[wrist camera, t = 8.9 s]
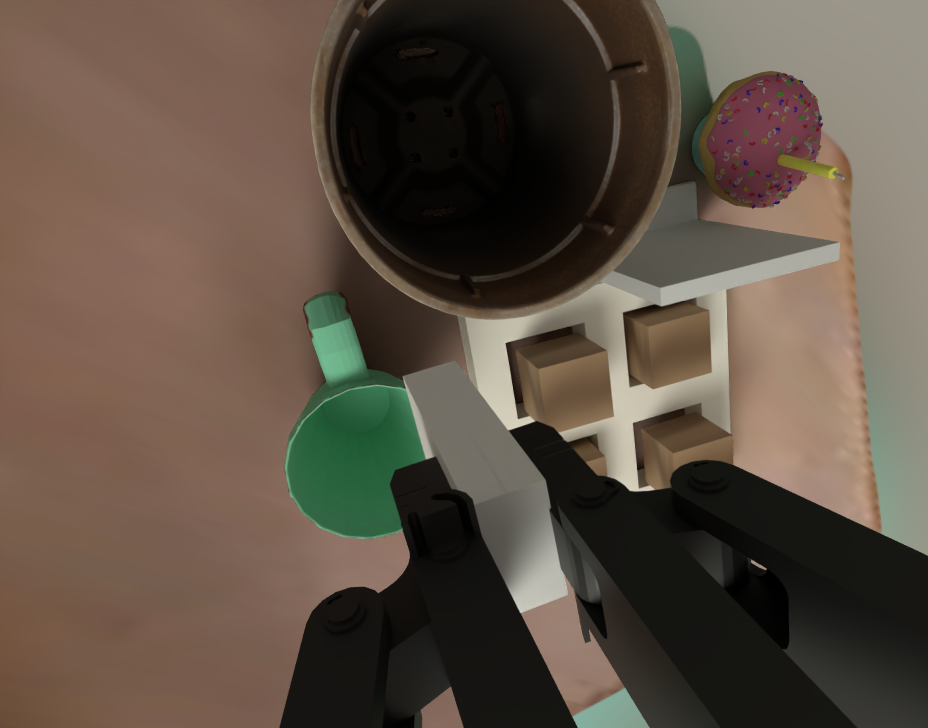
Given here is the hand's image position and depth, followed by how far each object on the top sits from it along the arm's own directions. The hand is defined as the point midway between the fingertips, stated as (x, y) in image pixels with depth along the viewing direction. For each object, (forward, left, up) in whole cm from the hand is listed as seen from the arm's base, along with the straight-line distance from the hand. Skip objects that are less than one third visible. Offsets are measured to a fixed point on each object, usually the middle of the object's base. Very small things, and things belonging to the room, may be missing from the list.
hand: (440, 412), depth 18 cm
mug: (+7, -2, -27) cm, 28 cm away
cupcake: (-3, +28, -27) cm, 39 cm away
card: (+2, +20, -27) cm, 33 cm away
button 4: (+10, +21, -26) cm, 35 cm away
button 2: (+10, +12, -24) cm, 29 cm away
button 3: (+19, +21, -24) cm, 37 cm away
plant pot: (-7, +7, -27) cm, 29 cm away
